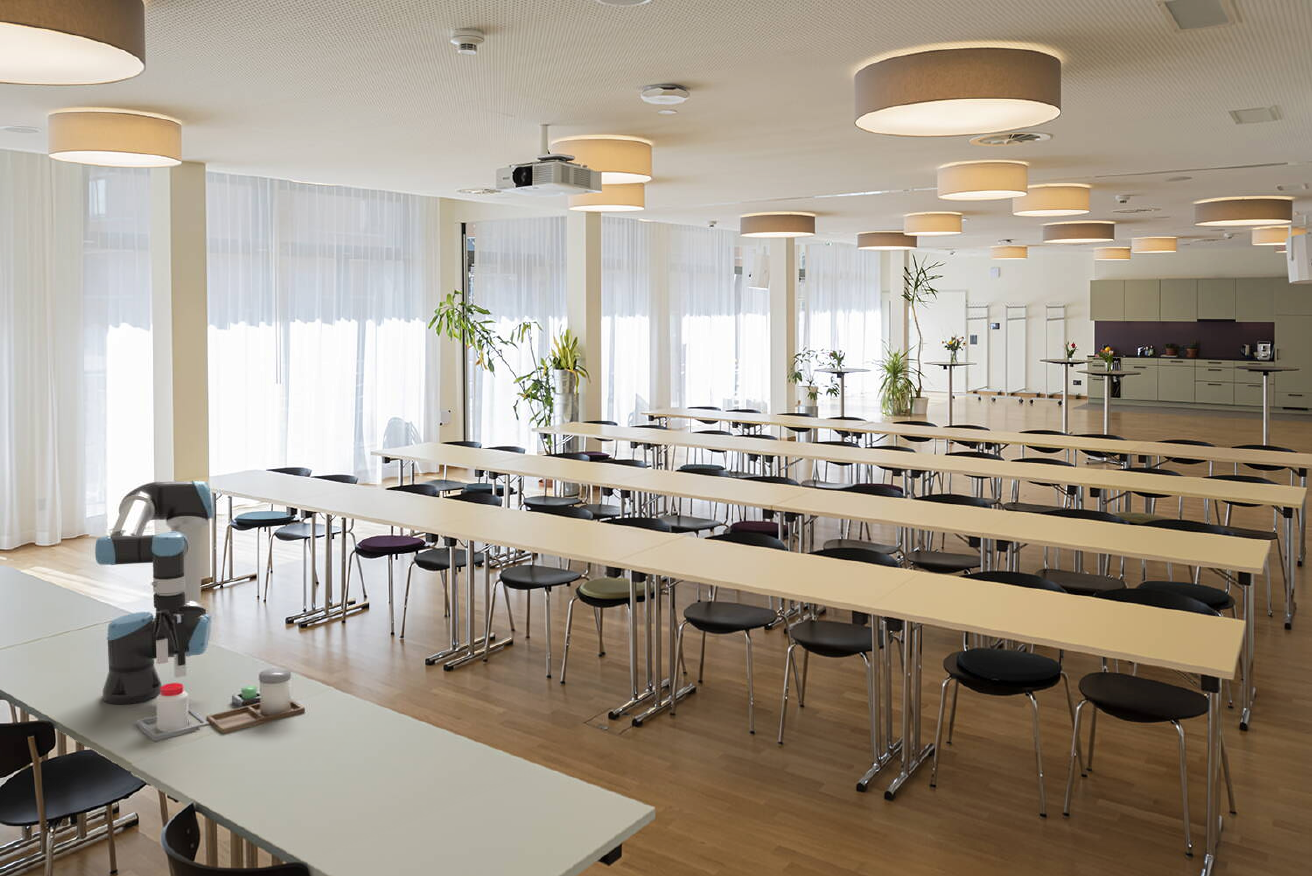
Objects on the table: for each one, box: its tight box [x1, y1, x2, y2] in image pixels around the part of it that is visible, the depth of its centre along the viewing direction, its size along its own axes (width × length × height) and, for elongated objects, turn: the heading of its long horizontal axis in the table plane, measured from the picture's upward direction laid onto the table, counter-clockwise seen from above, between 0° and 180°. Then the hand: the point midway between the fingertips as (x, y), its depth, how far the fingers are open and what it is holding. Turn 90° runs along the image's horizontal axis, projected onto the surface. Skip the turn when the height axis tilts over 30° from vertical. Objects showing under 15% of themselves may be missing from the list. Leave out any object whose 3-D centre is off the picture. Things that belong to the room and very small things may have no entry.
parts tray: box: [135, 707, 211, 742], centre depth 267 cm, size 14×14×1 cm
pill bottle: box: [155, 682, 190, 733], centre depth 267 cm, size 8×8×11 cm
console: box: [231, 689, 260, 708], centre depth 282 cm, size 7×7×3 cm
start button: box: [241, 685, 258, 700], centre depth 282 cm, size 4×4×4 cm
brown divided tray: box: [205, 698, 306, 735], centre depth 273 cm, size 12×22×2 cm, turn 134°
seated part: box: [258, 667, 292, 716], centre depth 276 cm, size 8×8×11 cm
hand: (171, 669), depth 265 cm, fingers open, 13 cm apart
